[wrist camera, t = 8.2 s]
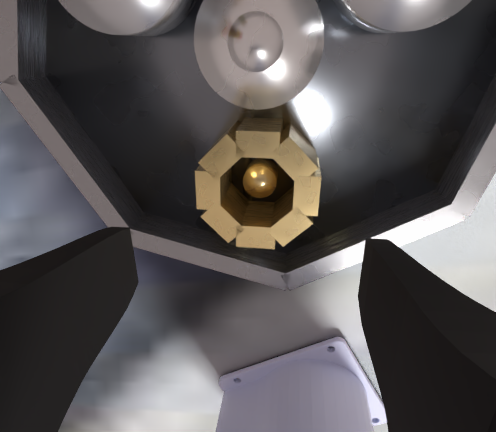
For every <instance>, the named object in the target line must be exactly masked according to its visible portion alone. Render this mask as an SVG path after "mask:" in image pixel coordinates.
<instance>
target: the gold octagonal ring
mask: <svg viewBox="0 0 496 432" xmlns="http://www.w3.org/2000/svg"><path fill="white" fill-rule="evenodd" d="M282 129H283V119H278V118H247V117H245V119H244V120H243V121H242V123H241V124H240V122H239V121H237V122H236V123H235V124H234V125H232V126H231V127H230V128H229V129H228V130H227V131H226V132H225V133H224V134H223V135H222V136H221V137H220V138H219V139H218V140H217V141H216V142H215V143H214V144H213V145H212V147H211V148H210V149H209V150H208V151H207V152H206V154H205V155H204V156H203V157H202V158H201V160H200V161H199V162H198V163H199V164H200V165H199V166H198V168H197V169H196V170H195V185H196V205H197V209H204V211H203V213H202V215H201V218H202V219H203V220H204V221H205V222H206V223H208V224H209V225H210V226H211V227H212V228H213V229H214V230H215V231H216V232H217V233H218V234H219V235H220V236H221V237H222V238H223V239H224V240H226V241H227V242H228V243H229V242H230V241H232V240H233V239H234V238H235V237H236V247H249V248H264V249H275V243H276V240H277V241H278V242H279V243H280V244H281V245H282V246H283V247H284V246H285V245H286V244H288V243H289V242H290V241H291V240H293V239H294V238H295V237H297V236H298V235H299V234H301V233H302V232H303V231H305V230H306V229H307V228H308V227H310V226H311V225H312V224H313V216H318V207H319V197H320V187H321V172H320V166H319V160H318V157H317V156H316V150H315V148H314V147H313V146H312V145H311V144H310V143H309V142H308V141H307V140H306V139H305V137H304V136H303V135H302V134H301V133H300V132H299V131H298V130H297V129H296V128H295V126H294V125H293V124H292V123H291V122H290V123H289V124H288V125H287V126H286V127H285V128H284V129H283V130H282ZM241 157H248V158H271V159H274V160H275V161H276V162H277V163H278V164H279V165H280V166H281V167H282V168H283V169H284V171H285V172H286V173H287V174H288V175H289V176H290V177H291V178H292V179H293V180H294V186H293V187H292V188H291V189H290V190H288V191H287V192H286V193H285V194H284V195H282V196H281V197H280V198H279V199H278V200H276V201H275V202H262V201H249V200H248V199H247V198H246V197H245V196H244V195H243V194H242V193H241V192H240V191H239V190H238V189H237V188H236V187H235V186H234V185H233V184H232V183H231V167H232V166H233V165H234V164H235V163H236V162H237V161H238V160H239V159H240V158H241Z"/></svg>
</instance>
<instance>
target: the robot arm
mask: <svg viewBox="0 0 496 432" xmlns="http://www.w3.org/2000/svg"><path fill="white" fill-rule="evenodd" d="M137 285H138V276H137V269H136V263H135V257H134V250H133V244H132V238H131V232H130V227H108V228H105V229H102V230H99V231H96V232H94V233H91V234H89V235H87V236H84V237H82V238H80V239H77V240H75V241H73V242H70V243H68V244H66V245H63V246H61V247H59V248H56V249H54V250H52V251H49V252H47V253H44V254H42V255H39V256H37V257H34V258H32V259H29V260H27V261H24V262H22V263H19V264H17V265H14V266H11V267H8V268H6V269H3V270H0V432H58V430H59V428H60V425H61V423H62V421H63V419H64V417H65V415H66V412H67V410H68V408H69V406H70V404H71V402H72V400H73V398H74V396H75V394H76V392H77V390H78V388H79V386H80V384H81V382H82V380H83V379H84V377H85V375H86V373H87V372H88V370H89V368H90V367H91V365H92V363H93V362H94V360H95V359H96V357H97V356H98V354H99V352H100V351H101V349H102V348H103V346H104V345H105V343H106V341H107V340H108V338H109V337H110V335H111V334H112V332H113V330H114V329H115V327H116V326H117V324H118V322H119V321H120V319H121V318H122V316H123V314H124V313H125V311H126V309H127V308H128V305H129V303H130V301H131V299H132V297H133V294H134V292H135V290H136V287H137ZM358 300H359V308H360V315H361V322H362V327H363V331H364V335H365V338H366V342H367V346H368V349H369V353H370V356H371V360H372V363H373V367H374V371H375V374H376V378H377V381H378V385H379V388H380V392H381V396H382V400H383V402H382V401H381V399H380V397H379V396H378V394H377V392H376V391H375V389H374V387H373V386H372V384H371V382H370V381H369V379H368V377H367V376H366V374H365V372H364V371H363V369H362V367H361V366H360V364H359V362H358V361H357V359H356V357H355V356H354V354H353V352H352V351H351V349H350V347H349V346H348V344H347V342H346V341H345V340H344V339H343V338H341V337H334V338H331V339H328V340H325V341H323V342H320V343H317V344H314V345H311V346H308V347H305V348H302V349H299V350H296V351H293V352H290V353H288V354H285V355H282V356H279V357H276V358H273V359H270V360H267V361H264V362H261V363H258V364H256V365H253V366H250V367H247V368H244V369H241V370H238V371H235V372H232V373H229V374H226V375H223V376H221V377H220V378H219V383H218V384H219V386H220V387H221V389H222V390H223V391H224V395H223V399H222V404H221V409H220V413H219V418H218V423H217V427H216V432H374V429H373V426H375V425H379V424H383V423H386V422H387V425H388V431H389V432H496V312H494V311H492V310H490V309H489V308H487V307H485V306H483V305H481V304H480V303H478V302H476V301H474V300H472V299H471V298H469V297H468V296H466V295H464V294H463V293H461V292H460V291H458V290H457V289H455V288H454V287H452V286H450V285H449V284H447V283H446V282H444V281H443V280H442V279H440V278H439V277H437V276H436V275H434V274H433V273H432V272H430V271H429V270H428V269H426V268H425V267H424V266H422V265H421V264H420V263H418V262H417V261H416V260H415V259H413V258H412V257H411V256H409V255H408V254H407V253H406V252H404V251H403V250H402V249H400V248H399V247H398V246H397V245H395V244H394V243H392V242H391V241H390V240H388V239H372V238H366V240H365V247H364V255H363V262H362V270H361V277H360V285H359V292H358ZM329 346H333V348H328V347H329ZM237 378H239V379H237Z"/></svg>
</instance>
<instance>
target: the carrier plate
mask: <svg viewBox="0 0 496 432" xmlns="http://www.w3.org/2000/svg"><path fill="white" fill-rule="evenodd" d="M0 82H3V83H1V84H0V88H1V89H2V91H3V92H4V93H5V95H6V96H7V97H8V98H9V100H10V101H11V102H12V104H13V105H14V106H15V107H16V109H17V110H18V111H19V113H20V114H21V115H22V117H23V118H24V119H25V120H26V122H27V123H28V124H29V126H30V127H31V128H32V129H33V131H34V132H35V133H36V135H37V136H38V137H39V139H40V140H41V141H42V142H43V144H44V145H45V146H46V148H47V149H48V150H49V152H50V153H51V154H52V155H53V157H54V158H55V159H56V161H57V162H58V163H59V164H60V166H61V167H62V168H63V170H64V171H65V172H66V174H67V175H68V176H69V177H70V179H71V180H72V181H73V183H74V184H75V185H76V186H77V188H78V189H79V190H80V192H81V193H82V194H83V196H84V197H85V198H86V199H87V201H88V202H89V203H90V205H91V206H92V207H93V209H94V210H95V211H96V212H97V214H98V215H99V216H100V218H101V219H102V220H103V221H104V223H105V224H106V225H107V227H130V232H131V238H132V244H133V247H136V248H139V249H143V250H146V251H150V252H153V253H157V254H160V255H164V256H167V257H171V258H174V259H178V260H181V261H184V262H188V263H191V264H195V265H198V266H202V267H205V268H209V269H212V270H216V271H219V272H223V273H226V274H230V275H233V276H236V277H240V278H243V279H247V280H250V281H254V282H257V283H261V284H264V285H268V286H271V287H275V288H278V289H282V290H285V291H286V288H287V287H288V289H289V290H292V289H295V288H297V287H300V286H302V285H305V284H307V283H310V282H312V281H315V280H317V279H320V278H322V277H325V276H327V275H330V274H332V273H334V272H337V271H339V270H342V269H344V268H347V267H349V266H352V265H354V264H357V263H359V262H362V261H363V255H364V247H365V240H366V238H372V239H388V240H390V241H391V242H392V243H394V244H395V245H397V246H398V247H399V246H402V245H404V244H407V243H409V242H412V241H414V240H417V239H419V238H422V237H424V236H427V235H429V234H432V233H434V232H437V231H439V230H442V229H444V228H447V227H449V226H452V225H454V224H457V223H459V222H462V221H464V220H466V219H465V217H464V215H466V216H469V217H470V215H471V214H472V212H473V210H474V208H475V207H476V205H477V203H478V202H479V200H480V198H481V196H482V195H483V193H484V191H485V189H486V188H487V186H488V184H489V183H490V181H491V179H492V177H493V176H494V174H495V172H496V0H0ZM245 117H247V118H278V119H283V129H284V128H285V127H286V126H287V125H288V124H289V123H290V122H291V123H292V124H293V125H294V126H295V128H296V129H297V130H298V131H299V132H300V133H301V134H302V135H303V136H304V137H305V139H306V140H307V141H308V142H309V143H310V144H311V145H312V146H313V147H314V148H315V150H316V156H317V157H318V160H319V166H320V172H321V187H320V197H319V207H318V216H313V224H312V225H311V226H310V227H308V228H307V229H306V230H305V231H303V232H302V233H301V234H299V235H298V236H297V237H295V238H294V239H293V240H291V241H290V242H289V243H288V244H286V245H285V246H284V247H283V246H282V245H281V244H280V243H279V242H278V241H277V240H276V243H275V249H264V248H249V247H236V237H235V238H234V239H233V240H232V241H230V242H229V243H228V242H227V241H226V240H224V239H223V238H222V237H221V236H220V235H219V234H218V233H217V232H216V231H215V230H214V229H213V228H212V227H211V226H210V225H209V224H208V223H206V222H205V221H204V220H203V219H202V218H201V215H202V213H203V211H204V209H197V205H196V185H195V170H196V169H197V168H198V166H199V165H200V164H199V163H198V162H199V161H200V160H201V158H202V157H203V156H204V155H205V154H206V152H207V151H208V150H209V149H210V148H211V147H212V145H213V144H214V143H215V142H216V141H217V140H218V139H219V138H220V137H221V136H222V135H223V134H224V133H225V132H226V131H227V130H228V129H229V128H230V127H231V126H232V125H234V124H235V123H236V122H237V121H239V122H240V124H241V123H242V121H243V120H244V119H245ZM283 129H282V130H283ZM231 183H232V184H233V185H234V186H235V187H236V188H237V189H238V190H239V191H240V192H241V193H242V194H243V195H244V196H245V197H246V198H247V199H248V200H249V201H262V202H275V201H276V200H278V199H279V198H280V197H281V196H282V195H284V194H285V193H286V192H287V191H288V190H290V189H291V188H292V187H293V186H294V180H293V179H292V178H291V177H290V176H289V175H288V174H287V173H286V172H285V171H284V169H283V168H282V167H281V166H280V165H279V164H278V163H277V162H276V161H275V160H274V159H271V158H248V157H241V158H240V159H239V160H238V161H237V162H236V163H235V164H234V165H233V166H232V167H231Z"/></svg>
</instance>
